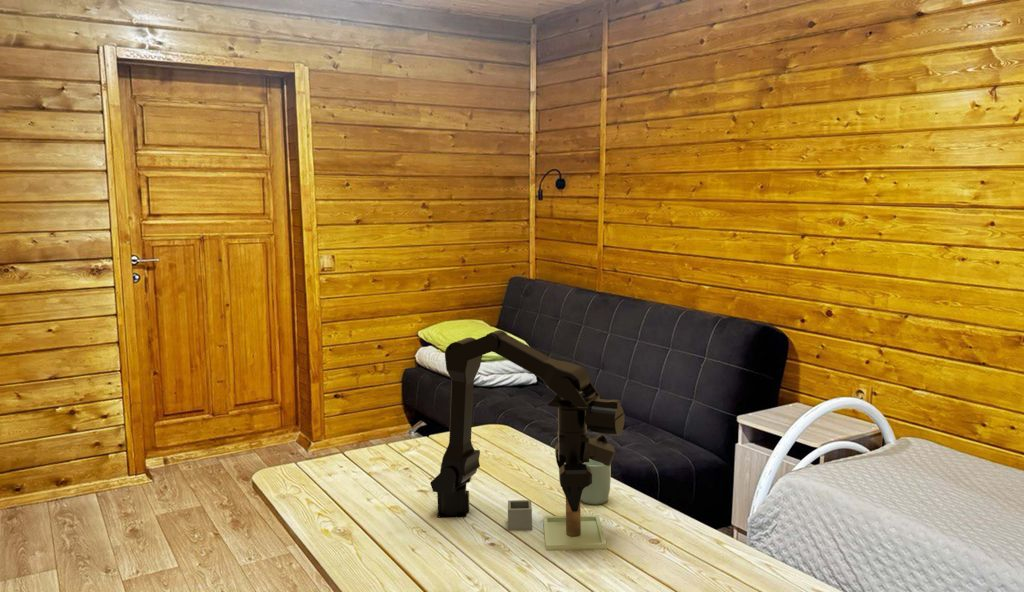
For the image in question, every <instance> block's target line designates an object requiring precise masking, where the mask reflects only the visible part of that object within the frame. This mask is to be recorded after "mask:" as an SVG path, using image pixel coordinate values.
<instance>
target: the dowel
mask: <svg viewBox="0 0 1024 592" xmlns="http://www.w3.org/2000/svg"><path fill="white" fill-rule="evenodd" d="M581 513H582V512H581V502H580V503H579V507H578V511H577V512H572V510H571V508H570V505H569V503H568V501H567V498H566V497H565V516H566V535H568V536H570V537H577V536H580V535H581Z"/></svg>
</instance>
